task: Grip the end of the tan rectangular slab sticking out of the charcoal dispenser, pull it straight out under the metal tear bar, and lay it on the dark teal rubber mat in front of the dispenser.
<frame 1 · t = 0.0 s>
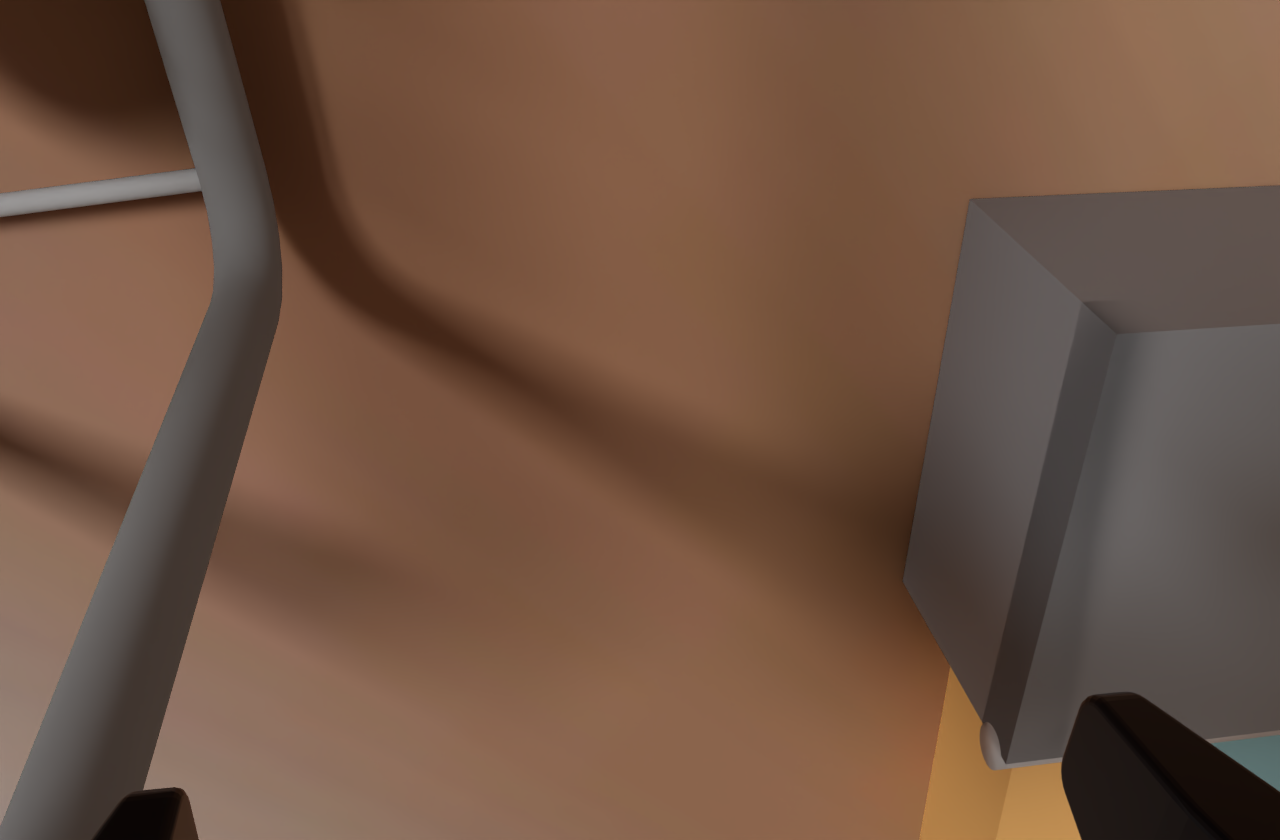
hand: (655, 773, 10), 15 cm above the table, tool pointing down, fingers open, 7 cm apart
dispenser: (1096, 396, 28), on the table
tan rectangular slab: (1021, 661, 33), on the table
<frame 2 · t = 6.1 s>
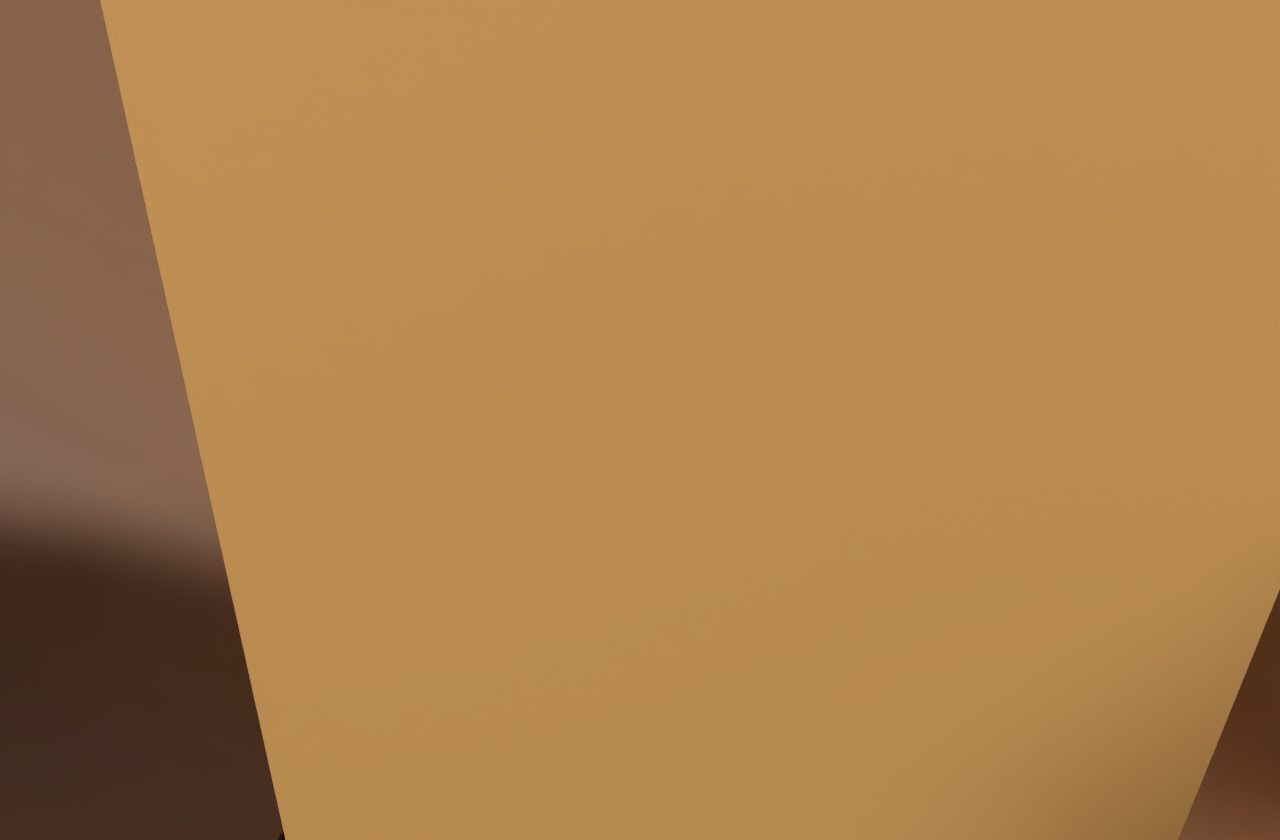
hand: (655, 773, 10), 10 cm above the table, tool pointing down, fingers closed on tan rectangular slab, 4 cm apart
tan rectangular slab: (640, 299, 9), point 9 cm above the table, touching gripper
when the fingers open (4 cm above the table, at t = 8.9 s): tan rectangular slab drops 2 cm, resting on mat.
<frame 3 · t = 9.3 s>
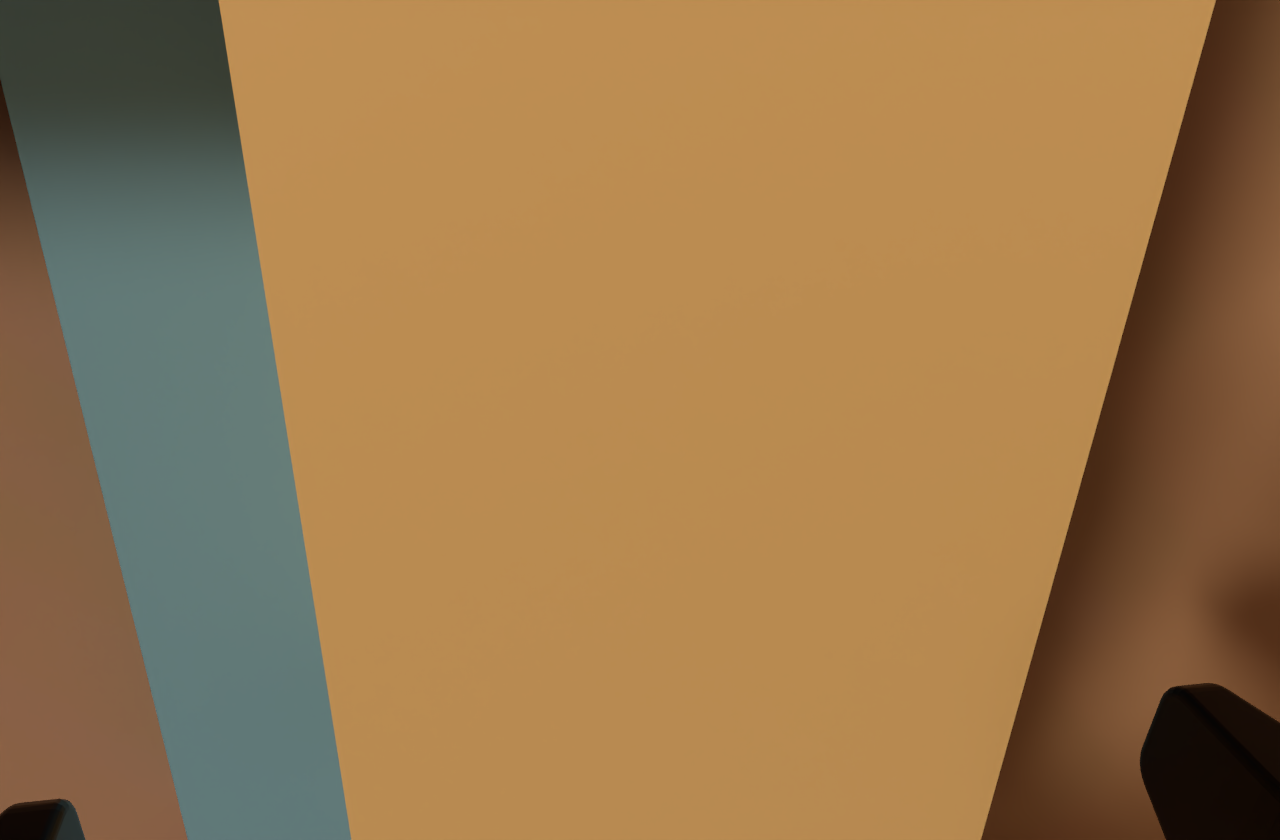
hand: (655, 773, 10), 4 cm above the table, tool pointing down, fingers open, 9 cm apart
tan rectangular slab: (608, 216, 10), point 1 cm above the table, touching mat
mat: (604, 117, 11), on the table
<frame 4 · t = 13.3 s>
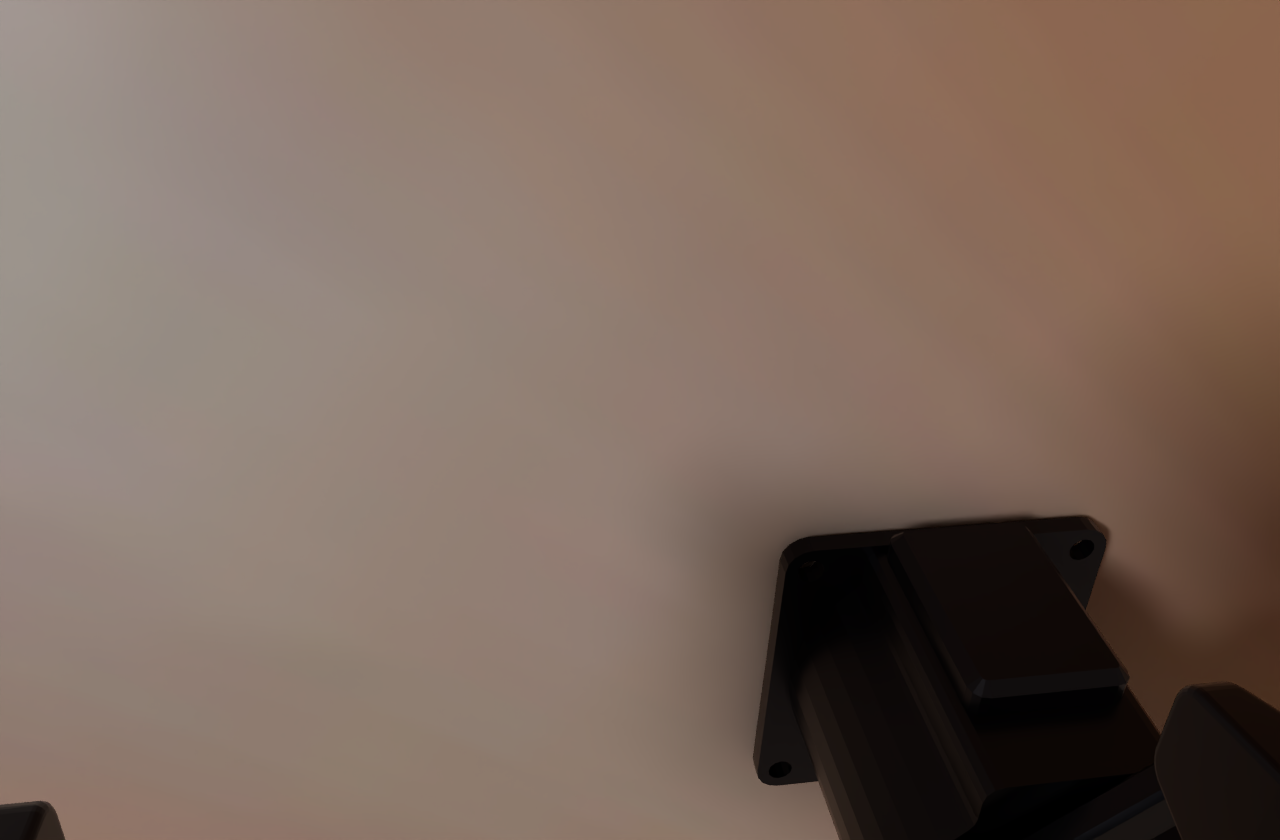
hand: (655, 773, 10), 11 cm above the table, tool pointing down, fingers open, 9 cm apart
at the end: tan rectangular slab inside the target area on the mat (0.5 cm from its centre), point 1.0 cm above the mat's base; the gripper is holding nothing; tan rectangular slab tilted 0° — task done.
